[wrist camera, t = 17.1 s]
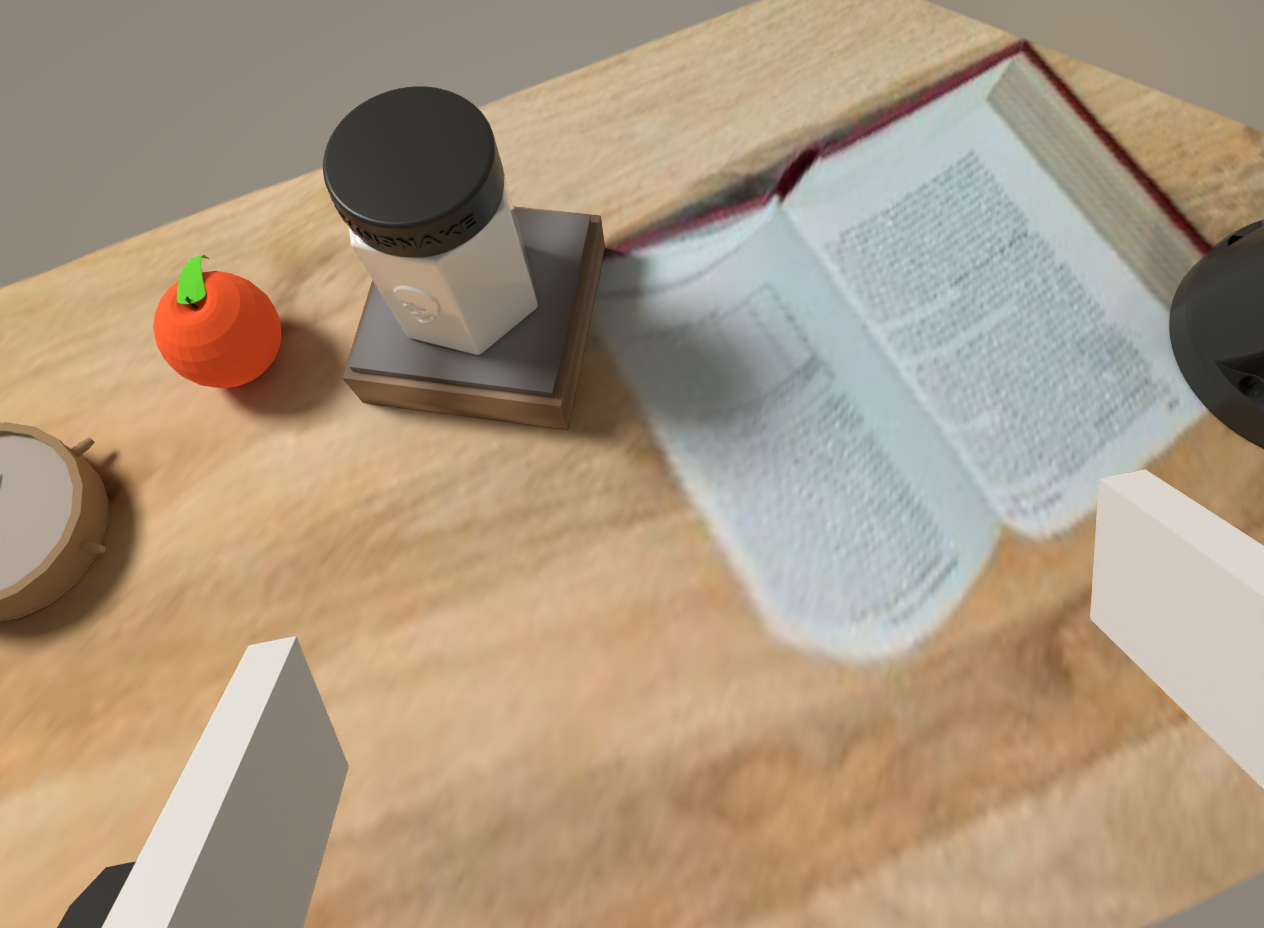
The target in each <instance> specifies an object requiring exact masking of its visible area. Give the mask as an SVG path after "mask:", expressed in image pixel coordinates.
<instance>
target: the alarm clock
mask: <svg viewBox="0 0 1264 928" xmlns="http://www.w3.org/2000/svg"><path fill="white" fill-rule="evenodd" d="M94 443H95V442H94V441H93V440H92V439H91V438H90V437H89V438H87V439H86V440H84V441H82V442H80V443H78V444H77V445H76V446H74V447H73V448H72V449H70V448H68V447H67V446H65V445H64V444H63V443H62V442H61V441H60V440H58V439H57V438H55V437H53V436H51V435H49V434H47V433H45V432H43V431H42V430H40V429H38V428H36V427H32V426H26V425H20V424H13V423H7V422H5V423H0V621H5V620H11V619H18V618H22V617H24V616H26V615H28V614H31V613H33V612H35V611H37V610H40V609H42V608H44V607H47V606H49V605H51V604H52V603H54V602H55V601H56V600H57V599H59V598H60V597H61V596H63V595H64V594H65V593H66V592H68V591H69V590H70V589H71V588H73V587H74V586H75V585H76V584H77V583H78V582H79V580H80V579H81V578H82V576H83V575H84V574H85V572H86V571H87V569H88V568H89V567H90V565H91V564H92V562H93V561H94V560H95V558H96V557H97V554H98V553H105V551H106V547H105V546H103V545H101V543H102V541H103V538H104V535H105V533H106V530H107V521H108V504H109V500H108V497H107V494H106V490H105V487H104V484H103V481H102V477H101V476H100V475H99V473H98V472H97V471H96V470H95V468H94V467H93V466H92V465H91V464H90V462H89V461H88V460H87V459H86V458H85V457H83V456H81V455H82V454H83V453H84V452H86V451H87V450H88V449H89V448H90V447H91V446H92V445H93V444H94Z"/></svg>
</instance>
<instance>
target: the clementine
mask: <svg viewBox="0 0 1264 928" xmlns="http://www.w3.org/2000/svg"><path fill="white" fill-rule="evenodd" d="M202 257H203V258H207V259H209V258H208V257H206V256H205V255H201V256H197V257H194V258H191V259H190V261H189V262H188V263H187V264H186V265H185V267H184V268H183V270H182V273H181V275H180V278H179V281H178V282H176V283H175V284H174V285H173V286H171V287H170V288H169V289H168V290H167V291H166V293H165V294H164V295H163V297H162V298H161V300H160V302H159V305H158V307H157V310H156V313H155V317H154V325H153V328H154V333H155V339H156V342H157V346H158V349H159V350H160V352H161V354H162V356H163V358H164V359H165V360H166V361H167V363H168V364H169V365H170V366H171V367H172V368H173V369H174V370H175V371H176V372H177V373H179V374H180V375H181V376H183V377H185V378H187V379H189V380H191V381H193V382H195V383H197V384H199V385H203V386H209V387H217V388H229V387H237V386H240V385H243V384H246V383H249V382H250V381H252V380H254V379H255V378H257V377H259V376H260V375H261V374H262V373H263V372H264V371H265V370H267V369H268V368H269V367H270V365H271V364H272V362H273V361H274V359H275V358H276V356H277V353H278V351H279V348H280V345H281V324H280V320H279V316H278V313H277V311H276V309H275V308H274V306H273V304H272V303H271V301H270V299H269V298H268V296H267V295H266V294H265V293H264V292H262V291H261V290H260V289H259V288H258V287H256V286H255V285H254V284H253V283H251V282H250V281H249V280H246V279H244V278H242V277H239V276H237V275H234V274H230V273H226V272H219V271H211V272H202V269H201V259H202Z"/></svg>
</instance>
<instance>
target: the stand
mask: <svg viewBox="0 0 1264 928" xmlns="http://www.w3.org/2000/svg"><path fill="white" fill-rule="evenodd" d="M514 210H515V213H516V217H517V220H518V224H519V227H520V231H521V234H522V238H523V241H524V245H525V249H526V253H527V258H528V262H529V267H530V271H531V276H532V280H533V284H534V289H535V293H536V298H537V302H538V307H537V308H536V309H535V310H534V311H533V312H532V313H530V314H529V315H528V316H527V317H526V318H524V319H523V320H522V321H521V322H519V323H518V324H517V325H516V326H515V327H513V328H512V329H511V330H510V331H509V332H507V333H506V334H505V335H504V336H502V337H501V338H500V339H499V340H498V341H496V342H495V343H494V344H493V345H492V346H490V347H489V348H488V349H487V350H486V351H484V352H483V353H482V354H480V355H475V354H471V353H467V352H463V351H459V350H455V349H451V348H447V347H443V346H439V345H435V344H431V343H427V342H423V341H419V340H416V339H412V338H408V337H407V336H406V334H405V333H404V331H403V329H402V328H401V326H400V324H399V323H398V321H397V319H396V318H395V316H394V315H393V313H392V311H391V310H390V308H389V306H388V305H387V303H386V301H385V300H384V298H383V296H382V295H381V293H380V292H379V290H378V288H377V287H376V285H375V283H374V282H373V280H372V283H371V287H370V290H369V293H368V296H367V300H366V303H365V306H364V309H363V313H362V316H361V319H360V322H359V326H358V329H357V332H356V335H355V339H354V342H353V345H352V348H351V352H350V355H349V358H348V362H347V365H346V368H345V371H344V375H343V379H344V381H345V382H346V383H347V384H348V385H349V387H350V388H351V389H352V390H353V391H354V393H355V394H356V395H357V396H358V397H359V399H360V400H361V401H362V402H364V403H372V404H379V405H387V406H394V407H402V408H409V409H417V410H424V411H432V412H439V413H447V414H454V415H462V416H469V417H477V418H484V419H492V420H499V421H507V422H514V423H522V424H529V425H537V426H544V427H552V428H559V429H567V430H568V427H569V422H570V417H571V412H572V407H573V402H574V397H575V392H576V388H577V383H578V378H579V373H580V368H581V363H582V358H583V353H584V348H585V344H586V339H587V334H588V329H589V324H590V319H591V314H592V309H593V304H594V300H595V295H596V290H597V285H598V280H599V275H600V270H601V265H602V260H603V256H604V251H605V243H604V236H603V229H602V222H601V216H599V215H590V214H581V213H571V212H562V211H552V210H543V209H534V208H524V207H515V206H514Z"/></svg>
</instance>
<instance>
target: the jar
mask: <svg viewBox="0 0 1264 928" xmlns="http://www.w3.org/2000/svg"><path fill="white" fill-rule="evenodd" d="M323 174H324V180H325V184H326V187H327V189H328V192H329V194H330V195H331V199H332V201H333V202H334V204H335V207H336V209H337V211H338V212H339V214H340V216H341V217H342V219H343V220H344V222H345V223H347V224H348V226H349V233H350V240H351V245H352V247H353V249H354V250H355V252H356V254H357V255H358V257H359V259H360V260H361V262H362V264H363V265H364V267H365V268H366V270H367V272H368V273H369V275H370V277H371V278H372V280H373V282H374V283H375V285H376V287H377V288H378V290H379V292H380V293H381V295H382V296H383V298H384V300H385V301H386V303H387V305H388V306H389V308H390V310H391V311H392V313H393V315H394V316H395V318H396V319H397V321H398V323H399V324H400V326H401V328H402V329H403V331H404V333H405V334H406V336H407V337H408V338H412V339H416V340H419V341H423V342H427V343H431V344H435V345H439V346H443V347H447V348H451V349H455V350H459V351H463V352H467V353H471V354H475V355H480V354H482V353H483V352H484V351H486V350H487V349H488V348H489V347H490V346H492V345H493V344H494V343H495V342H496V341H498V340H499V339H500V338H501V337H502V336H504V335H505V334H506V333H507V332H509V331H510V330H511V329H512V328H513V327H515V326H516V325H517V324H518V323H519V322H521V321H522V320H523V319H524V318H526V317H527V316H528V315H529V314H530V313H532V312H533V311H534V310H535V309H536V308H537V307H538V302H537V298H536V293H535V289H534V284H533V280H532V276H531V271H530V267H529V262H528V258H527V253H526V249H525V245H524V241H523V238H522V234H521V231H520V227H519V224H518V220H517V217H516V213H515V210H514V206H513V203H512V199H511V196H510V192H509V189H508V185H507V182H506V178H505V175H504V171H503V167H502V163H501V159H500V156H499V152H498V149H497V145H496V142H495V138H494V135H493V132H492V129H491V127H490V124H489V123H488V121H487V119H486V118H485V116H484V115H483V114H482V112H481V111H480V110H479V109H478V108H477V107H476V106H475V105H474V104H472V103H471V102H469V101H468V100H467V99H465V98H463V97H461V96H460V95H457V94H455V93H453V92H450V91H447V90H443V89H439V88H433V87H406V88H399V89H395V90H391V91H388V92H385V93H382V94H379V95H377V96H375V97H373V98H371V99H369V100H367V101H365V102H364V103H362V104H360V105H359V106H358V107H356V108H355V109H354V110H352V111H351V112H350V113H349V114H348V115H347V116H346V117H345V118H344V119H343V120H342V121H341V122H340V123H339V125H338V126H337V127H336V129H335V130H334V132H333V134H332V136H331V137H330V139H329V142H328V144H327V147H326V150H325V154H324V160H323Z"/></svg>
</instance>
